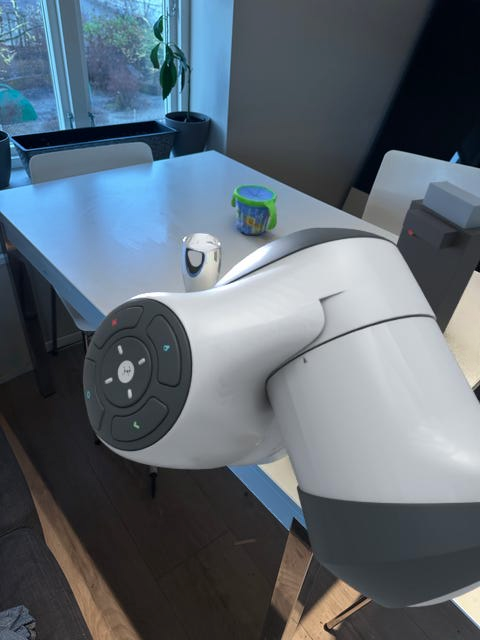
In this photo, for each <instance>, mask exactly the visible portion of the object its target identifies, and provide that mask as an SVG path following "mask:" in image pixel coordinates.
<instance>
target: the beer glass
mask: <svg viewBox="0 0 480 640" xmlns="http://www.w3.org/2000/svg"><path fill="white" fill-rule="evenodd" d="M222 243H223V242H222V240H221V239H220V238H219V237H217V236H215V235H214V234H209V233H205V232H204V233H203V232H196V233H191V234H188V235H186V236H185V237H184V239H183V245H182V254H181V272H182V281H183V286H184V293H192V292H201V291H205V290H210V289H212V288H213V287H214V286H215V285H216V284H217V283H218V282H219V278H220V274H221V269H222Z"/></svg>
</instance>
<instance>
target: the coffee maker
mask: <svg viewBox="0 0 480 640" xmlns="http://www.w3.org/2000/svg"><path fill="white" fill-rule="evenodd" d="M428 183H429V184H428V185H427V188H426V192H425V194H424V197H423V198H422V199H421V198H420V199H412V200H411V201H410V205H409V207H408V209H407V211H406V212H405V213H406V214H405V217H404V220H403V222H402V225H401V226H402V227H401V231H400V233H399V236H398V239H397V242H396V245H397V246H398V248H399V251H400V253H401V255H402V256H403V258H404V260H405V262H406V263H407V265H408V267H409V269H410V271H411V272H412V274H413V276H414V278H415V280H416V281H417V283H418V285H419V287H420V289H421V290H422V292H423V294H424V296H425V298H426V300H427V301H428V303H429V305H430V307H431V309H432V311H433V313H434V314H435V316H436V318H437V319H436V322H437V324H438V326H439V328H440V330H441V332H442V334H443V335H444V334H445V332H446V330H447V328H448V325H449V324H450V321H451V320H452V318H453V316H454V314H455V311H456V309H457V307H458V305H459V303H460V301H461V299H462V297H463V295H464V293H465V291H466V289H467V287H468V285H469V283H470V281H471V280H472V279H471V278H472V277H473V274H474V272H475V270H476V268H477V266H478V264H479V262H480V197H479V196H477V195H475V194H474V193H473V194H472V193H471V192H468V191H467V190H465V189H462V188H460V187H459V186H457V185H455V184H453V183H451V182H448V181H447V180H446V181H445V180H444V181H433V182H428Z"/></svg>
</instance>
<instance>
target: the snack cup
mask: <svg viewBox="0 0 480 640" xmlns="http://www.w3.org/2000/svg"><path fill="white" fill-rule="evenodd" d="M277 198H278V195H277V193H276V192H275V190H273V189H271V188H270V187H266V186H264V185H258V184H243V185H239V186H237V187H236V188H234V191H233V193H232V197H231V200H230V205H231V207H232V208H235V222H236V229H237V230H238V231H239V232H241V233H244V234H245V235H251V236H259V235H262V234H263V233H264V232H265V231H266V229H267V230H268V231H271V230H273V229H275V228H276V226H277V224H278V219H277V217H278V215H277V207H276V204H275V203H276V202H277Z"/></svg>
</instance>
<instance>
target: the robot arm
mask: <svg viewBox="0 0 480 640" xmlns="http://www.w3.org/2000/svg"><path fill="white" fill-rule="evenodd" d="M270 242H271V243H269V242H268V243H267V244H265V245H263V246H261V247H259V248H258V249H256V250H255V251H253V252H251V253H249V254H248V255H247V256H246V257H244V258H243V259H242V260H241V261H239V262H238V263H237V264H235V265H234V266H233V267H232V268H231V269H230V270H229V271H228V272H227V273H226V274H225V275H224V276H223V277H222V278H221V279H219V280H218V282H217V284H216V285H215V286H214V287H213V288H212V289H210V290H205V291H201V292H192V293H185V292H166V291H165V292H164V291H163V292H162V291H161V292H160V291H159V292H157V291H156V292H149V293H143V294H139V295H136V296H133V297H131V298H129V299H127V300H125V301H123V302H122V303H120V304H118V305H116V306H115V307H114V308H113V309H111V310H110V311H109V312H108V313H107V314H106V315H105V317H104V318H103V319H102V320H101V322H100V323H99V324H98V326H97V328H96V329H95V331H94V333H93V335H92V336H91V340H90V342H89V344H88V347H87V349H86V353H85V357H84V360H83V361H84V362H83V369H82V384H83V385H82V386H83V396H84V402H85V407H86V412H87V416H88V420H89V423H90V426H91V428H92V430H93V432H94V433H95V435H96V436H97V438H98V439H99V440H100V441H101V442H102V443H103V444H104V445H105V446H106V447H107V448H109V450H111V451H112V452H114V453H115V454H117V455H118V456H120V457H122V458H125V459H127V460H130V461H133V462H136V463H139V464H144V465H148V466H153V467H158V468H166V469H174V470H175V469H178V470H209V469H217V468H218V469H219V468H222V467H245V466H246V467H247V466H261V465H263V466H264V465H269V464H272V463H275V462H278V461H279V460H282V459H284V458H286V457H287V456H288V459H289V462H290V465H291V468H292V471H293V474H294V477H295V479H296V482H297V486H296V491H297V496H298V499H299V504H300V507H301V512H302V516H303V520H304V524H305V528H306V531H307V535H308V540H309V544H310V547H311V551H312V555H313V558H314V559H315V560H316V561H317V562H319V564H321V565H322V566H323V567H324V568H325V569H327V571H329V572H330V573H331V574H333V576H335V577H336V578H338V579H339V580H340V581H342V582H343V583H344V584H345V585H347V586H348V587H350V588H351V589H353V590H354V591H356V592H357V593H359V594H360V595H362V596H363V597H365V598H366V599H369V600H371V601H373V602H374V603H376V604H378V605H380V606H381V607H384V608H386V609H399V608H416V607H417V608H419V607H427V606H433V605H437V604H441V603H444V602H447V601H450V600H453V599H456V598H459V597H462V596H464V595H466V594H468V593H470V592H472V591H474V590H476V589H478V588H480V400H478V398H477V395H476V394H475V392H474V390H473V388H472V385H470V383H469V381H468V378H467V376H466V374H465V373H464V372H463V369H462V367H461V365H460V364H459V362H458V360H457V358H456V356H455V354H454V353H453V350H452V349H451V347H450V345H449V343H448V342H447V340H446V337H445V336H444V334H442V332H441V330H440V328H439V326H438V324H437V322H436V319H437V318H436V316H435V314H434V313H433V311H432V309H431V307H430V305H429V303H428V301H427V300H426V298H425V296H424V294H423V292H422V290H421V289H420V287H419V285H418V283H417V281H416V280H415V278H414V276H413V274H412V272H411V271H410V269H409V267H408V265H407V263H406V262H405V260H404V258H403V256H402V255H401V253H400V251H399V248H398V246H397V243H395V242H394V241H393V240H391V239H388V238H386V237H385V236H381V235H380V234H376V233H373V232H370V231H366V230H361V229H355V228H347V227H309V228H305V229H301V230H297V231H293V232H292V233H289V234H287V235H284V236H282V237H279V238H277V239H274V240H273V241H270Z"/></svg>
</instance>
